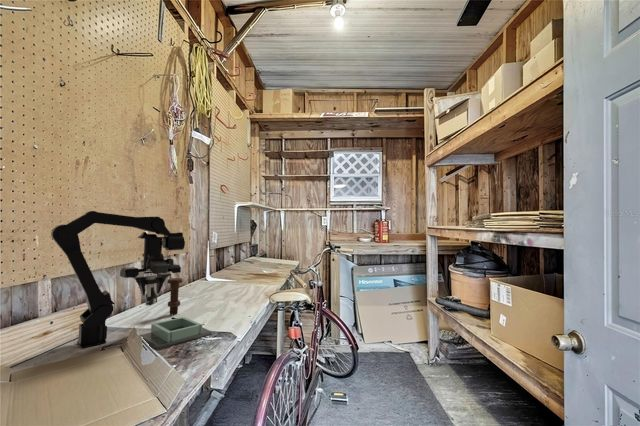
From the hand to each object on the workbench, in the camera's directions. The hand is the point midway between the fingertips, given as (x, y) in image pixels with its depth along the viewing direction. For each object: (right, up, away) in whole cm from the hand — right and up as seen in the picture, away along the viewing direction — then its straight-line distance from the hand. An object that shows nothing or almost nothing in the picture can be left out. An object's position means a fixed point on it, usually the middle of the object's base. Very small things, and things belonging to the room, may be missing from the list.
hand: (150, 294), depth 109 cm
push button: (0, -4, 0) cm, 4 cm away
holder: (+12, -13, -5) cm, 18 cm away
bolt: (-2, -14, +21) cm, 25 cm away
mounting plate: (+12, -13, -5) cm, 18 cm away
